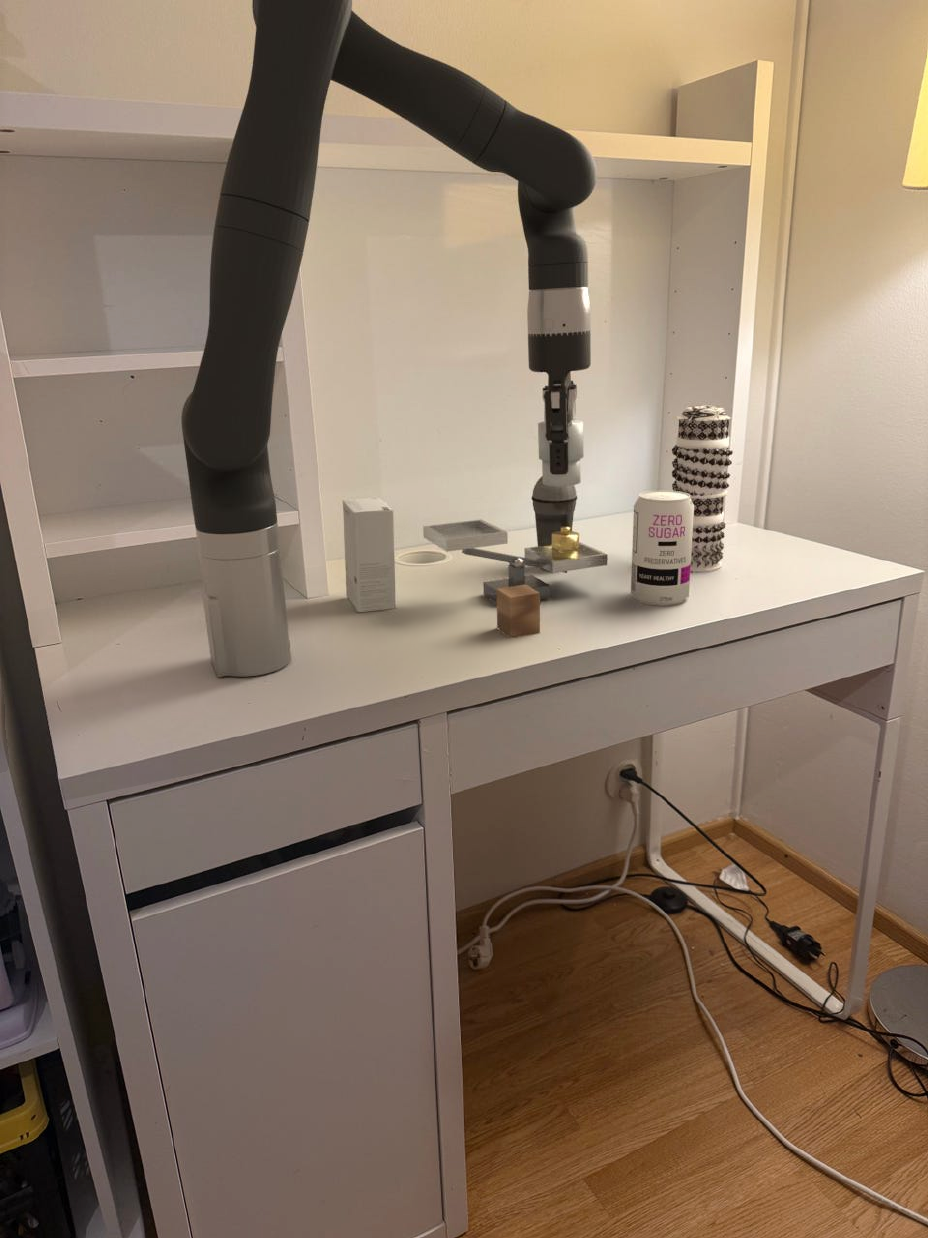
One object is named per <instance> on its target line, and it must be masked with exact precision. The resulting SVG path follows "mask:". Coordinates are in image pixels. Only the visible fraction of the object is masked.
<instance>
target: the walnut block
mask: <svg viewBox="0 0 928 1238" xmlns="http://www.w3.org/2000/svg"><path fill="white" fill-rule="evenodd" d="M540 603H541V600H540V593H539V592H537V591H536V590H534V589H532V588H531V587H529V586H527V585H519V586H512V587H505V588H499V589H497V604H496V628H497V629H498V628H499V629H500V630H501V631H500V630H499V629H498V630H499V631H500V632H501V633H503V632H504V633H505V635H506V636H507V635H508V636H507V637H508V638H510V639H513V638H519V636H520V637H526V636H531V635H536V634H537V635H538V634H540V633H541V604H540Z"/></svg>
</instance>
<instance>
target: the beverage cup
mask: <svg viewBox="0 0 928 1238" xmlns="http://www.w3.org/2000/svg"><path fill="white" fill-rule="evenodd" d="M530 499H531V501H532V507H533V512H534V517H535V518H534V519H535V528H536V530H535V531H536V539H537V540H536V542H537V546H544V545H551V544H552V533H554V532H557V531H561V527H563V526H568V527H570V531H573V524H574V513H575V511H576V506H577V500H578V495H577V489H576V485H571V486H547V485H544V484H543V476H540V478H539V479H538V480H537V481H536V483H535V485H534V486H533V490H532V495H531V498H530ZM539 569H540V570H541V571H543V572H548V573H550V572H549V571H547V570H546V569H542V568H539Z"/></svg>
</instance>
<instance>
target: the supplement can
mask: <svg viewBox="0 0 928 1238" xmlns="http://www.w3.org/2000/svg"><path fill="white" fill-rule="evenodd" d="M693 518H694V504H693V502H692V500H691V498H690V495H689V494H688V493H684V492H679V491H673V490H661V489H660V490H649V491H643V492H641V493H639V494H638V498H637V500H636V501H635V502H634V505H633V519H632V520H633V521H632V522H633V523H632V525H633V526H632V551H631V574H630V575H631V579H630V584H631V585H630V594H631V596H633V597H634V600H636V601H637V602H639V603H642V604H644V605H645V604H646V605H649V606H664V607H665V606H675V605H679V604H682V603H683V602H684V601H685V600H686V599H687V598H689V597H690V584H691V583H690V581H691V572H690V568H691V551H692V535H693Z"/></svg>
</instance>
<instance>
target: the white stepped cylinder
mask: <svg viewBox="0 0 928 1238" xmlns="http://www.w3.org/2000/svg"><path fill="white" fill-rule="evenodd" d="M553 430H563V425H554V426H553ZM537 436H538V437H537V439H538V440H537V441H538V460H541V470H542V471H541V472H542V474H541V475H542V476H543V484H544V485H547V486H571V485H574V486H576V485H579V484H580V483H581V482H582V481H581V478H582V477H581V459H583V458H584V455H585V453H584V421H583V420H580V419H579V420H578V419H574V420H573V423H572V425H569V436H570V440H569V443H568V472H567V474H560V475H553V474H551V472H550V444H548V441H547V438H546V424H545V421H544V420H543V421H540V422H538V423H537ZM542 476H541V477H542Z"/></svg>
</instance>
